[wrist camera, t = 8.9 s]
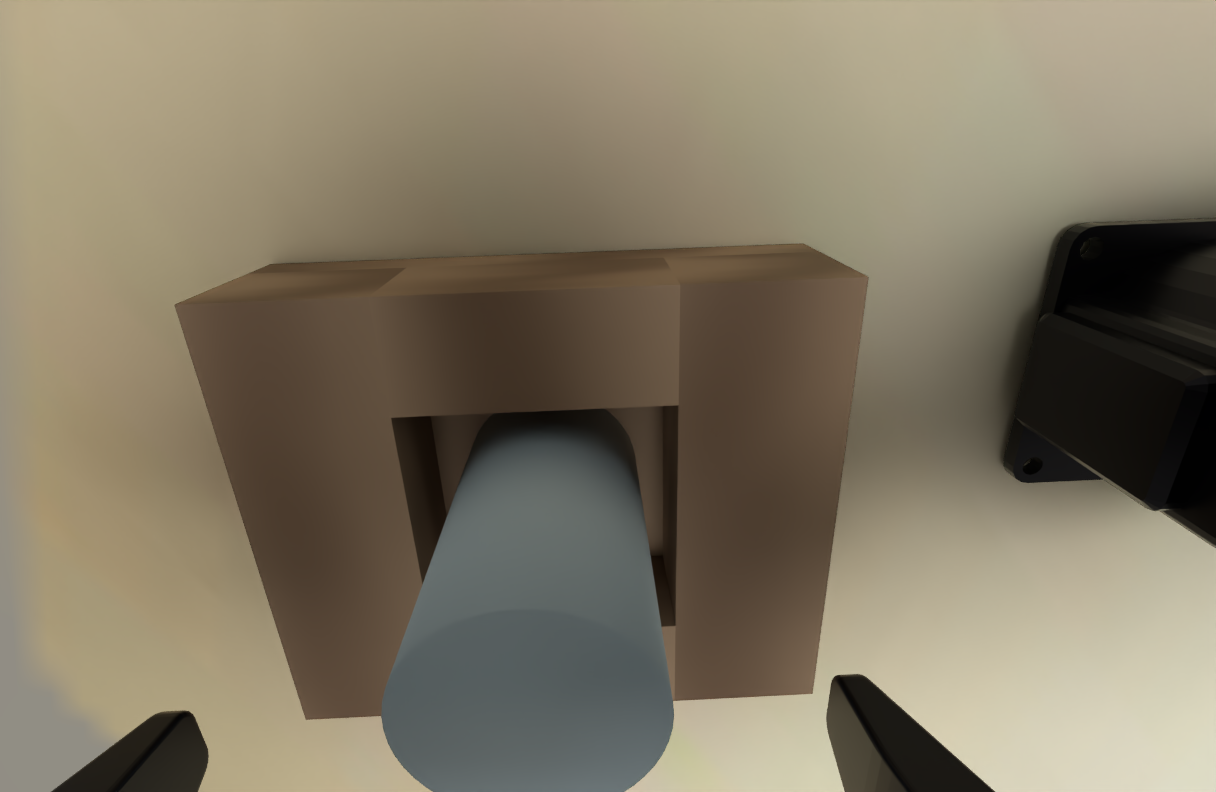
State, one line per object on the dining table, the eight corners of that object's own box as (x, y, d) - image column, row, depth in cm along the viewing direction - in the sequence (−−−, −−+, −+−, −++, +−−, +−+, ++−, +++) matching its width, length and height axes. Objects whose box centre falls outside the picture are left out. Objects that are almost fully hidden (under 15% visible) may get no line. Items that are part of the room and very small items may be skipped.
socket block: (803, 243, 14) (868, 277, 11) (771, 593, 18) (812, 693, 15) (270, 264, 14) (174, 305, 11) (356, 613, 18) (305, 719, 15)
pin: (634, 388, 14) (675, 601, 8) (636, 533, 16) (672, 810, 9) (460, 396, 14) (355, 616, 8) (479, 540, 16) (406, 824, 9)
